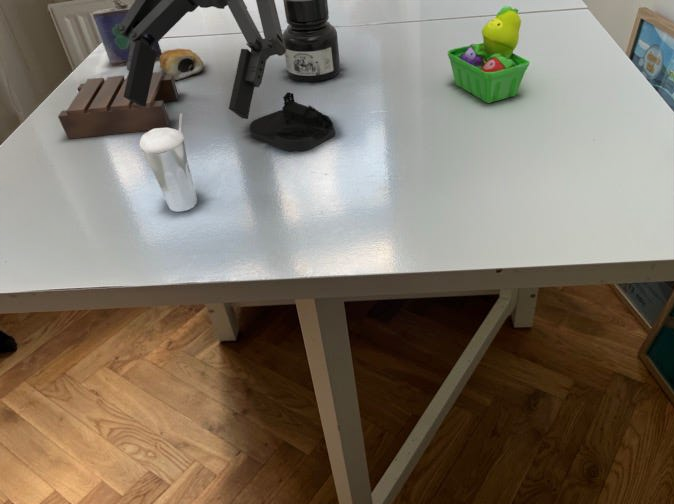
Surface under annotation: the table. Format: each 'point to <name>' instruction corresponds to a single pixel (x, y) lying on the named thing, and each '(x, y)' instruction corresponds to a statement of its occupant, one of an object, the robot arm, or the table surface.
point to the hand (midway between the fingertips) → (184, 108)
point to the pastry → (180, 63)
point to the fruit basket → (491, 60)
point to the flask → (116, 33)
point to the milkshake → (170, 166)
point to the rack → (117, 107)
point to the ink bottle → (310, 41)
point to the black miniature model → (293, 127)
